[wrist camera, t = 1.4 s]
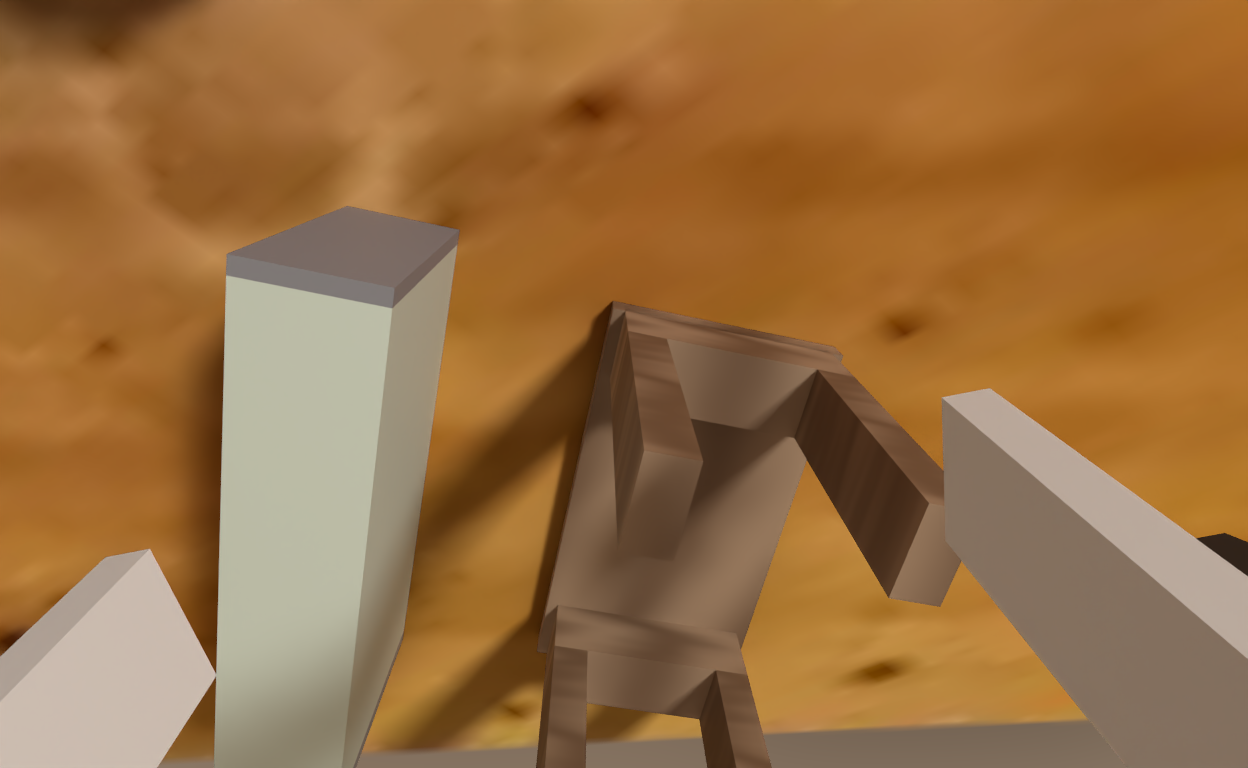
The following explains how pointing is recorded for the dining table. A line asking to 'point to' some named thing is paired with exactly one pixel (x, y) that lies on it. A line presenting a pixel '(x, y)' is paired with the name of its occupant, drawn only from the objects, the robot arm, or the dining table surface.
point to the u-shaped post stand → (713, 520)
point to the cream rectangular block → (322, 477)
